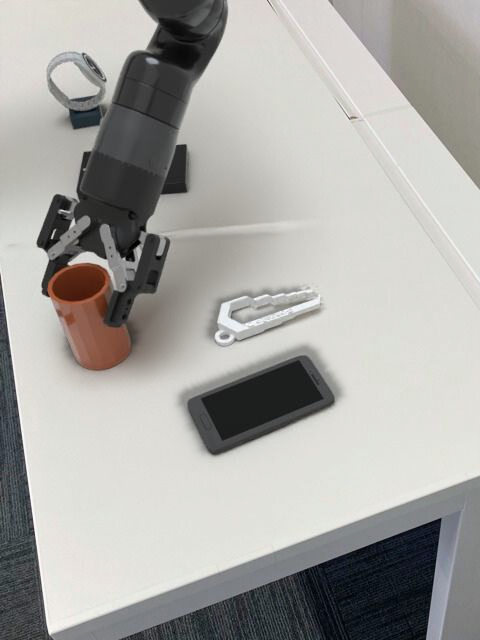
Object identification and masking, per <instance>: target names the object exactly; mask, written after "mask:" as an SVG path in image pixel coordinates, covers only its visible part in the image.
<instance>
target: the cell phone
mask: <svg viewBox="0 0 480 640" xmlns="http://www.w3.org/2000/svg"><path fill="white" fill-rule="evenodd" d="M335 398H336V397H335V395H334V393H333V391H332V390H331V387H329V385H328V384H327V381H326V380H325V378H323V376H322V374H321V373H320V371H319V369H318V368H317V367H316V365H315V364H314V362H313V361H312V359H311V358H310V357H309V356H308V355H306V354H301V355H297V356H295V357H291V358H289V359H287V360H284V361H281V362H279V363H276V364H274V365H271V366H269V367H266V368H264V369H261V370H258V371H256V372H253V373H251V374H248V375H246V376H244V377H241V378H238V379H235V380H233V381H231V382H228V383H225V384H223V385H220V386H217V387H215V388H213V389H210V390H208V391H205V392H202V393H200V394H198V395H195V396H192V397H191V398H189V399H188V401H187V409H188V412H189V413H190V414H189V415H190V416H191V418H192V420H193V422H194V424H195V426H196V428H197V430H198V432H199V434H200V437H201V439H202V440H203V442H204V444H205V447H206V449H207V450H208V451H209V452H210V453H211V454H213V455H214V454H219V453H222V452H224V451H228V450H229V449H232V448H234V447H236V446H239V445H242V444H244V443H246V442H248V441H251V440H253V439H255V438H258V437H261V436H263V435H265V434H268V433H270V432H272V431H275V430H277V429H280V428H283V427H284V426H287V425H289V424H292V423H294V422H296V421H299V420H301V419H303V418H306V417H308V416H310V415H313V414H315V413H318V412H320V411H322V410H326V409H327V408H329V407H331V406H332V405H333V404H334V403H335V400H336V399H335Z"/></svg>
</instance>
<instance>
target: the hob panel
mask: <svg viewBox="0 0 480 640" xmlns="http://www.w3.org/2000/svg"><path fill="white" fill-rule="evenodd" d="M91 151H92V150H88V151H83V152H82V158H81V164H80V167H79V169H80V170H79V174H78V180H77V185H76V190H75V192H76V195H77V198H78V202H79V201H80V200H81V198H82V196H83V193H82V192H81V190H80V185H81V182H82V179H83V176H84V173H85V170H86V167H87V163H88V160H89V157H90V154H91ZM189 156H190V155H189V149H188V144H187V143H180V144H176V148H175V152H174V156H173V159H172V162H171V165H170V168H169V171H168V174H167V177H166V180H165V182H164V185H163V188H162V191H161V194H160V196H163V195H175V194H188V192H189V191H188V190H189V189H188V188H189V187H188V185H189V158H190V157H189Z"/></svg>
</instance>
